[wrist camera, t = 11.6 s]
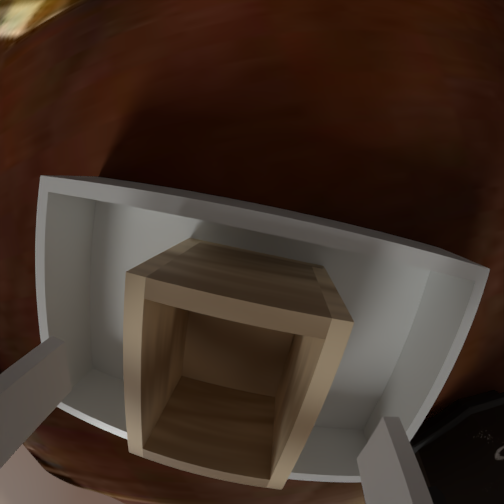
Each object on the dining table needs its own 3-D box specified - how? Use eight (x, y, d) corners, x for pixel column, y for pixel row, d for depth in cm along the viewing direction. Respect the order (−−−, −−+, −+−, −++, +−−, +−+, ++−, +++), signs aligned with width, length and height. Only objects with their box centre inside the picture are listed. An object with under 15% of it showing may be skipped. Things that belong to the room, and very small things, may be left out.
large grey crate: (98, 176, 19) (40, 175, 13) (438, 247, 17) (489, 268, 12) (91, 366, 22) (53, 404, 16) (365, 429, 21) (380, 481, 15)
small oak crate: (189, 237, 18) (125, 271, 10) (323, 265, 17) (354, 322, 10) (173, 375, 20) (129, 452, 12) (283, 400, 19) (281, 489, 12)
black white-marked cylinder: (401, 511, 23) (421, 601, 8) (343, 459, 22) (363, 606, 6) (518, 434, 20) (569, 508, 5) (508, 347, 18) (610, 445, 3)
